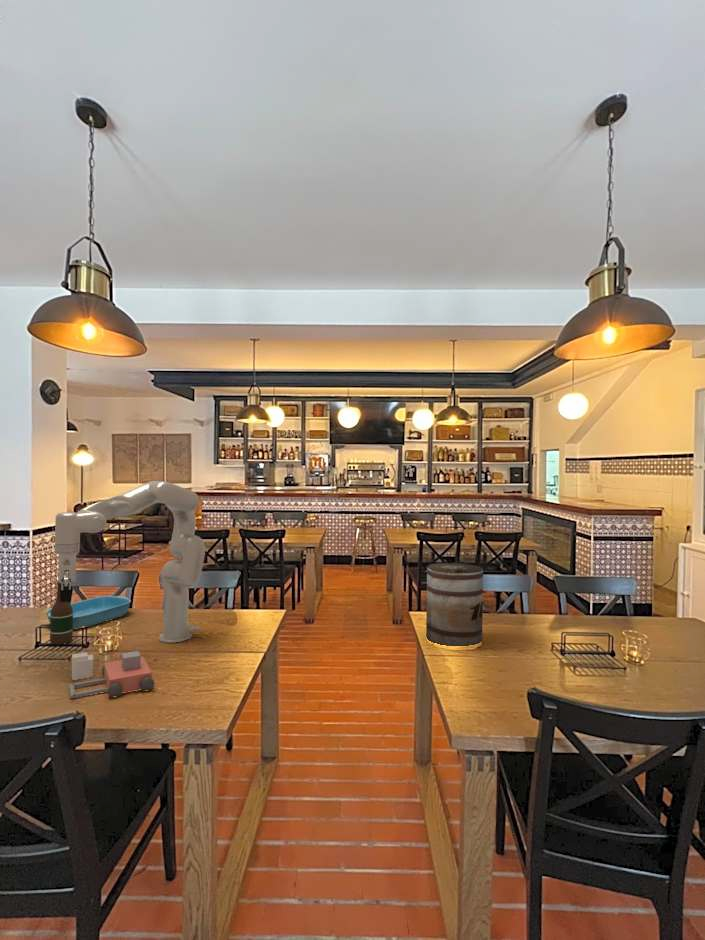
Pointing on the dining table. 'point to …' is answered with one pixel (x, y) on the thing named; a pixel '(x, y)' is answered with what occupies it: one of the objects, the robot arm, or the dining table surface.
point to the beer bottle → (61, 620)
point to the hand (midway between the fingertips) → (65, 598)
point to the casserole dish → (97, 610)
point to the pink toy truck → (120, 676)
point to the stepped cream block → (82, 666)
